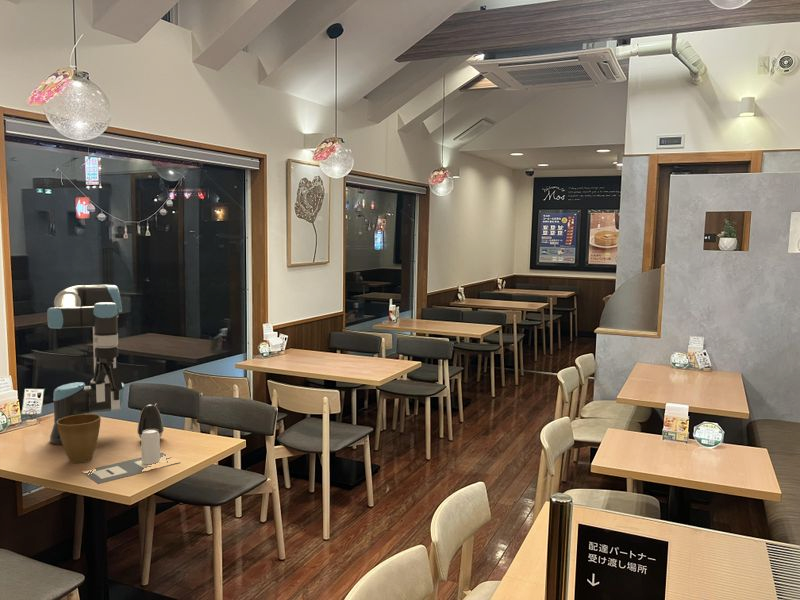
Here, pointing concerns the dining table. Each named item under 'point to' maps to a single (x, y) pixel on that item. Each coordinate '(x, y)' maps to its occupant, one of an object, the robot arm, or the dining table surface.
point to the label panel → (119, 470)
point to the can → (150, 446)
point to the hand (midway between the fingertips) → (108, 405)
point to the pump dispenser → (150, 419)
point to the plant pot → (79, 436)
